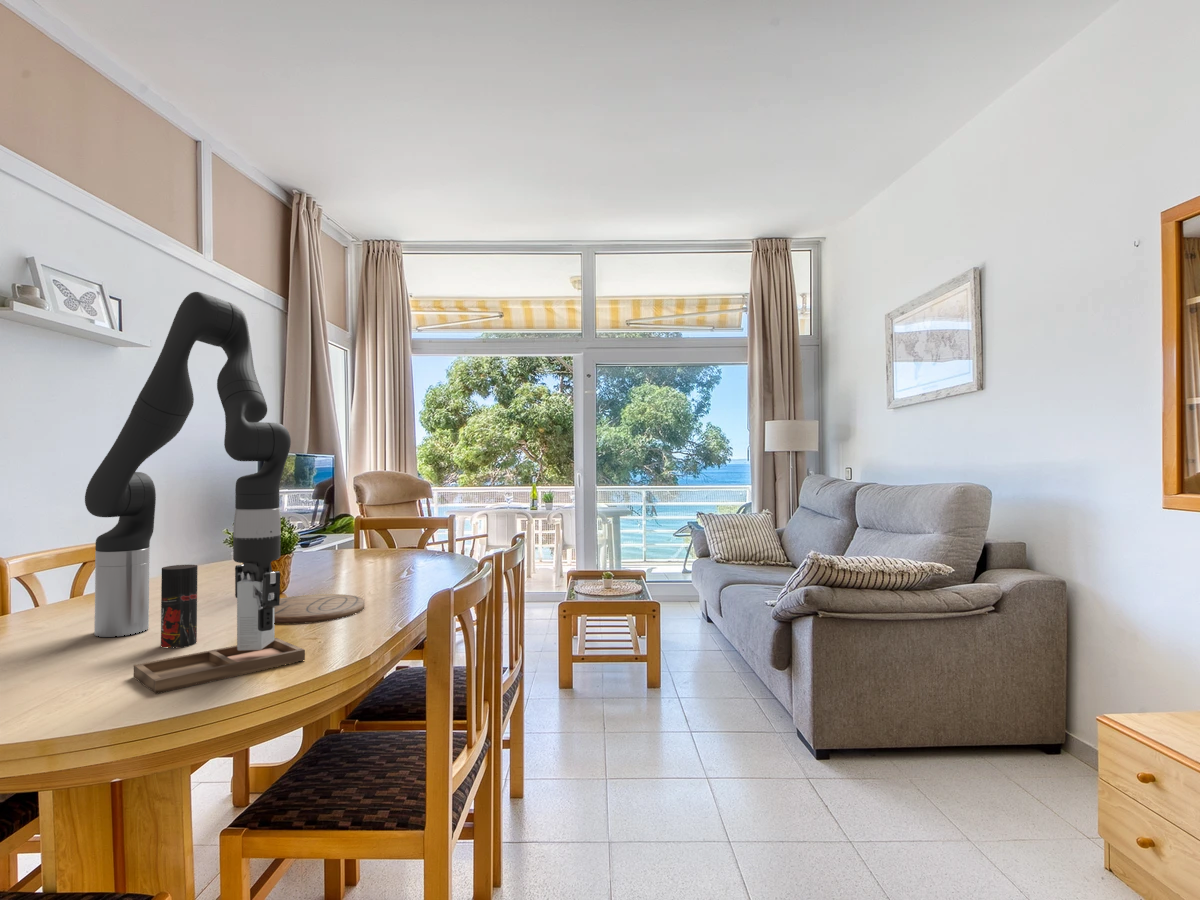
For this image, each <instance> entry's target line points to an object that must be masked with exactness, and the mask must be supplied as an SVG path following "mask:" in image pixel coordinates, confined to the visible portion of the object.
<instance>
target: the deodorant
mask: <svg viewBox="0 0 1200 900" xmlns="http://www.w3.org/2000/svg"><path fill="white" fill-rule="evenodd" d="M160 582H161V587H160V588H161V589H160V590H161V591H160V593H161V595H160V596H161V597H160V598H161V599H160V602H161V603H160V610H161V611H160V647H161V646H162V647H168V648H167V649H177V648H176V647H181V648H185V647H184V646H187V647H190V646H189V645H191V646H193V645H195V644H197V643H196V642H198V638H197V636H198V633H197V632H198V628H197V627H198V565H197V564H176V565H167V566H164V567H161V581H160ZM162 647H161V648H162ZM173 647H174V648H173Z"/></svg>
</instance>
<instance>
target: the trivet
mask: <svg viewBox="0 0 1200 900" xmlns="http://www.w3.org/2000/svg"><path fill="white" fill-rule="evenodd" d="M363 609H364V610H365V599H364V598H363V597H361V596H357V595H351V594H343V593H342V594H338V593H320V594H319V593H317V594H303V595H294V596H293V595H292V596H288V597H287V596H286V597H280V603H279V605H278V606H275V607H274V623H298V624H306V623H305V622H312V623H319V622H318V621H320V622H326V621H327V620H328V621H332V620H333V619H334V620H338V619H337V618H339V619H343V618H342V617H344V618H347V617H351V616H354V615H356V614H355V613H357V614H359V613H361V612H363V611H364V610H363ZM360 611H361V612H360ZM358 612H359V613H358ZM353 614H354V615H353ZM350 615H351V616H350ZM346 616H347V617H346Z"/></svg>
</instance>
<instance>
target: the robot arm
mask: <svg viewBox="0 0 1200 900" xmlns="http://www.w3.org/2000/svg"><path fill="white" fill-rule="evenodd" d="M248 325H249V324H248V320H247V317H246V314H245V313H244V310H243V309H242V308H241V307H239V306H238V305H236V304H234V303H232V302H230V301H226V300H224V299H221V298H218V297H216V296H212V295H209V294H207V293H203V292H200V291H193V292H190V293H189V294H188V295H186V297H185V298H183V300H182V302H181V303H180V305H179V307H178V309H177V312H176V314H175V316H174V319H173V321H172V323H171V326H170V329H169V331H168V334H167V336H166V338H165V342H164V345H163V347H162V349H161V351H160V354H159V356H158V357H157V361H156V362H155V364H154V367H153V369H152V371H151V373H150V374H149V376H148V378H147V380H146V382H145V384H144V386H143V387H142V389H141V391H140V392H139V394H138V396H137V398H136V400H135V402H134V404H133V406H132V408H131V411H130V413H129V415H128V417H127V419H126V421H125V423H124V425H123V426H122V429H121V431H120V432H119V434H118V436H117V438H116V440H115V441H114V442H113V445H112V446H111V448H110V449H109V451H107V452H108V453H106V456H105V457H104V459H103V460H102V461H101V463H100V465H98V467H97V469H96V470H95V472H94V473H93V475H92V477H91V478H90V480H89V482H88V483H87V486H86V489H85V494H84V503H85V504H84V505H85V508H86V510H87V511H88V512H89V514H90V515H92V516H94V517H98V518H116V517H117V518H118V522H117V523H116V525H114V526H113V528H111V529H110V530H108V531H106V532H104V533H102V534H100V535H99V536H97V538H96V539H95V545H94V546H95V549H94V550H95V551H94V553H95V555H94V556H95V558H94V560H95V561H94V563H95V564H94V566H95V567H94V568H95V569H94V573H95V575H94V576H95V577H94V633H93V634H94V636H95V637H98V636H99V637H98V638H115V636H117V637H124V635H125V636H130V634H131V635H136V634H139V632H140V633H142V631H143V632H146V631H148V630H149V629H148V628H149V625H150V624H149V622H150V620H149V619H150V618H149V617H150V614H149V613H150V611H149V610H150V552H151V551H150V549H151V547H150V543H151V538H152V536H153V534H154V529H155V514H156V498H157V494H156V487H155V483H154V481H153V479H152V478H151V476H149V475H148V474H147V473H145V472H141V471H140V472H139V471H138V469H139V468H140V466H141V465H142V464H143V463H144V462H145V461H146V460H147V459H148V458H150V457H151V456H152V455H154V454H155V453H156V452H157V451H159V450H161V448H163V447H164V446H165V445H167V444H168V443H170V441H172V440H173V439H174V438H175V437H176V436H177V435H178V434H179V433H180V431H181V430H182V428H183V426H184V425H185V423H186V421H187V419H188V417H189V416H190V413H191V411H192V409H193V406H194V400H195V399H194V391H193V386H192V382H191V378H190V372H189V367H188V363H189V358H190V355H191V352H192V349H193V347H194V345H195V343H196V342H201V343H205V344H208V345H209V346H212V347H219V348H221V349H222V350H223V351H224V353H225V355H226V357H227V360H226V361H225V363H224V365H223V367H222V368H221V370H220V372H219V373H218V375H217V376H218V377H217V379H216V390H217V393H218V396H219V399H220V403H221V405H222V409H223V412H224V415H225V416H224V418H225V420H224V422H225V429H224V430H225V431H224V442H223V443H224V446H223V447H224V450H225V452H226V454H227V455H228V456H229V458H231V459H233V460H235V461H238V462H263V463H262V466H261V468H260V470H259V471H257V472H255V473H251V474H246V475H243V476H240V477H238V478H237V479H236V482H235V493H234V494H235V497H234V498H235V500H234V501H235V503H234V504H235V507H234V508H235V510H234V515H233V516H234V517H233V530H232V531H233V542H232V543H233V545H232V546H233V548H232V550H233V551H232V560H233V562H236V563H240V564H237V565H235V566H234V577H235V578H234V587H235V588H234V592H235V593H234V595H235V598H236V599H237V582H239V581H242V580H244V579H247V580H248V581H251V582H253V581H258V582H262V583H263V591H261V592H260V591H258V590H257V588H256V587H255V586H254V585H253V598H256V599H257V605H258V609H259V610H258V630H259V631H267V630H271V629H272V628H273V608H274V607H275V606H278V605H279V603H280V598H281V597H280V596H281V595H280V594H281V572H280V571H279V570H278V571H273V570H272V562H273V561H277V560H279V559H280V558H281V543H282V542H281V540H282V539H281V536H282V533H281V531H282V530H281V527H282V524H281V523H282V522H281V521H282V520H281V514H280V488H281V487H280V486H281V480H282V476H283V474H284V473H283V472H284V469H285V465H286V464H287V459H288V456H289V453H290V449H291V444H292V440H291V439H292V438H291V434H290V432H289V431H288V430H289V429H287V428H286V426H285V425H284V424H281V423H278V422H262V420H263V419H264V418H265V417H266V416H267V413H268V405H267V402H266V398H265V396H264V394H263V392H262V389H261V386H260V384H259V381H258V378H257V374H256V371H255V370H256V369H255V366H254V360H253V359H254V358H253V352H252V344H251V339H250V338H251V337H250V332H249V331H250V330H249V326H248ZM273 594H274V597H273ZM147 629H148V630H147ZM145 630H146V631H145ZM135 633H136V634H135Z"/></svg>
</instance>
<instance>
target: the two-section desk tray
mask: <svg viewBox="0 0 1200 900" xmlns="http://www.w3.org/2000/svg"><path fill="white" fill-rule="evenodd" d="M303 660H306V650H305V649H304V648H302V647H299V646H297V645H294V644H292V643H290V642H288V641H285V640H283V639H280V638H278V637H275V640H274V641H273V642H271V643H270V644H269V645H267V646H266V647H264V648H263V649H261V650H241V651H238V650H237V644H235V645H233V646H225V647H221V648H216V649H210V650H205V651H200V652H194V653H190V654H183V655H179V656H173V657H169V658H163V659H158V660H152V661H145V662H143V663H137V664H133V678H134V677H135V678H136V679H135V678H134V679H135V680H137V681H138V680H139V681H140V682H139V681H138V682H139V683H141V685H143V684H144V685H145V688H146V689H148V690H150V691H151V692H152V693H153V694H155V695H158V694H162V693H166V691H167V692H170V691H171V692H172V691H175V690H176V691H177V690H179V689H180V690H181V689H184V688H189V687H194V686H198V685H203V684H206V683H207V682H208V683H211V682H210V681H212V682H215V680H217V681H220V679H221V680H224V679H225V678H226V679H230V678H234V676H235V677H239V676H244V675H247V673H248V674H251V673H252V672H253V673H257V672H261V670H262V671H266V670H269V669H268V668H271V669H274V668H273V667H275V668H278V667H277V666H280V665H284V666H286V665H285V664H289V663H293V664H295V663H294V662H298V661H302V662H304V661H303ZM298 663H299V662H298ZM289 665H290V664H289ZM280 667H281V666H280ZM265 669H266V670H265ZM256 671H257V672H256ZM243 674H244V675H243ZM238 675H239V676H238ZM229 677H230V678H229ZM226 679H225V680H226ZM193 685H194V686H193ZM161 692H162V693H161ZM157 693H158V694H157Z"/></svg>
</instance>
